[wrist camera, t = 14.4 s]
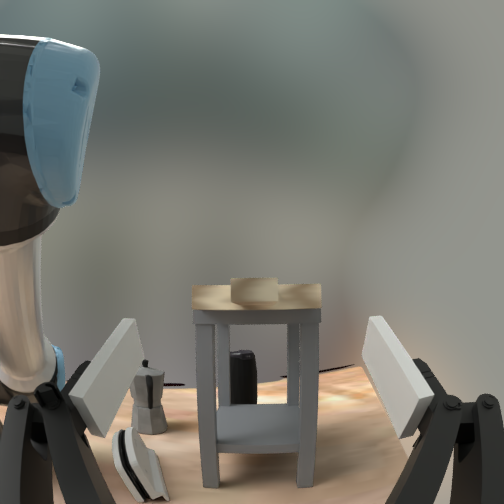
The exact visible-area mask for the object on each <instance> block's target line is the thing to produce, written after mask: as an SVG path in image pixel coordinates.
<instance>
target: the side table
mask: <svg viewBox="0 0 504 504" xmlns="http://www.w3.org/2000/svg"><path fill="white" fill-rule="evenodd" d="M320 322H321V308H317V309H289V310H193V324H196V380H197V406H198V425H199V441H200V455H201V467H202V478H203V487H208V488H218V487H219V483H220V473H219V456H218V453H242V454H269V453H293V452H298V458H297V476H296V483H297V487H298V488H306V487H313V477H314V465H315V451H316V435H317V415H318V383H319V323H320ZM299 323H300V337H299ZM215 324H217V358H218V401H219V408H218V410H217V412H216V384H215V383H216V379H215ZM230 324H237V325H239V324H241V325H242V324H243V325H244V324H287V404H231V393H230V326H229V325H230ZM299 373H300V399H299Z"/></svg>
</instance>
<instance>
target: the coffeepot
mask: <svg viewBox="0 0 504 504" xmlns="http://www.w3.org/2000/svg"><path fill="white" fill-rule="evenodd" d="M142 365H143V367H140V368H139V369H138V371H137V373H136V375H135V377H134V379H133V381H132V383H131V385H130V387H129V388H130V392H131V396H132V398H134V404H133V410H132V423H131V427H135V428H136V430H137V432H138V433H141V434H148V435H154V434H160V433H163V432H165V431H166V430H167V427H168V425H167V422H166V418H165V414H164V410H163V406H162V405H161V398H162V393H163V383H164V373H165V372H163V371H160V370H157V369H153V368H149V367H148V360H143V361H142Z"/></svg>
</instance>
